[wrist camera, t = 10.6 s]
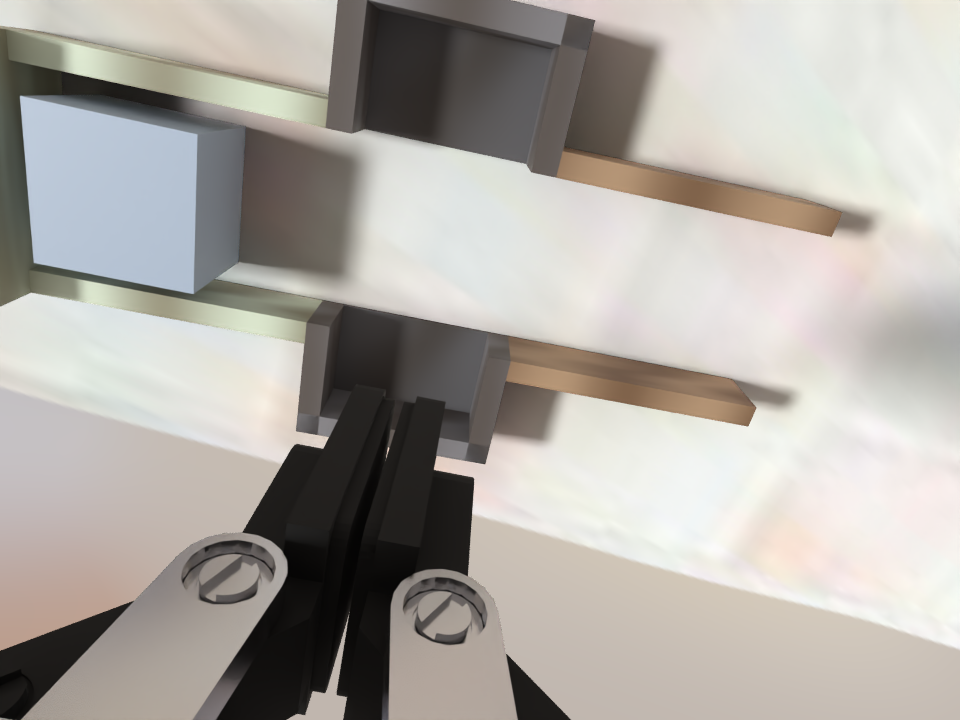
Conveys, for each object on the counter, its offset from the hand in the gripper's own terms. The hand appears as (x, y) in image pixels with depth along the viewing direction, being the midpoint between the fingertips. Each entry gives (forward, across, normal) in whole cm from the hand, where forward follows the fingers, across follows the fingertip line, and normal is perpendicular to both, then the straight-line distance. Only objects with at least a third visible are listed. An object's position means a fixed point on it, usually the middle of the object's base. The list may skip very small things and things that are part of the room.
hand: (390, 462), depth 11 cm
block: (+18, +13, 0) cm, 22 cm away
